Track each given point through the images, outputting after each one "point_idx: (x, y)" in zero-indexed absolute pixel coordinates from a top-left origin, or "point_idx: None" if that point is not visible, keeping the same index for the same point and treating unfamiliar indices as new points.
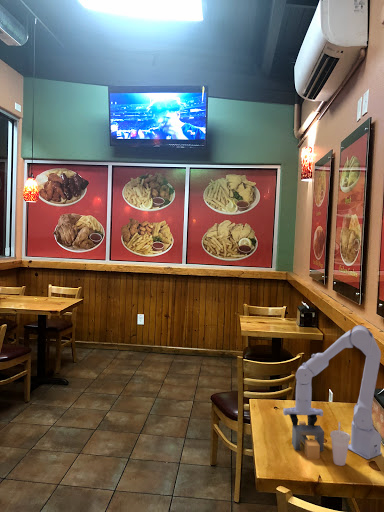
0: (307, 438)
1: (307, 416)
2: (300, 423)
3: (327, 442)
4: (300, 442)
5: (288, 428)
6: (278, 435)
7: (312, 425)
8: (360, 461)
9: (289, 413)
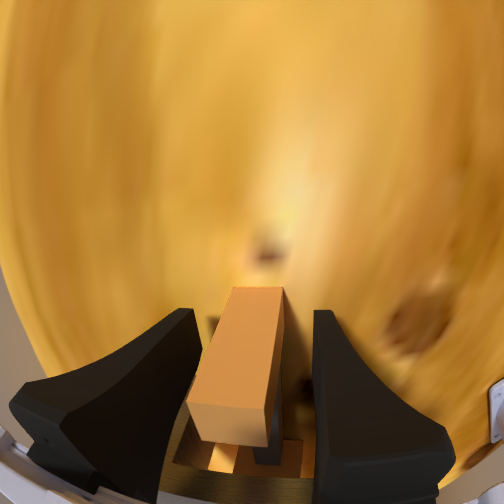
0: (275, 411)
1: (327, 425)
2: (200, 432)
3: (436, 352)
4: (208, 465)
5: (154, 128)
6: (85, 272)
7: None
8: (460, 452)
9: (38, 473)
